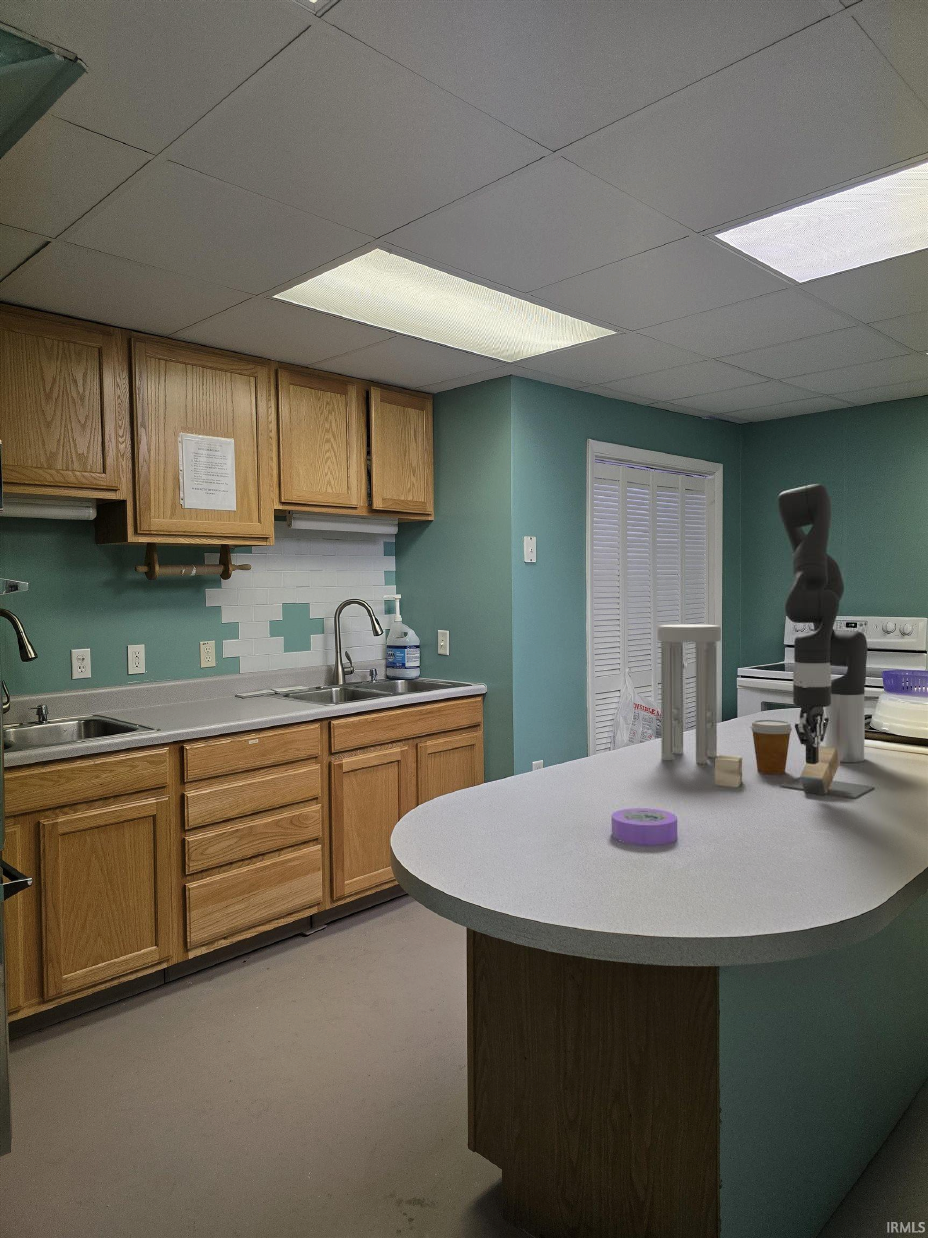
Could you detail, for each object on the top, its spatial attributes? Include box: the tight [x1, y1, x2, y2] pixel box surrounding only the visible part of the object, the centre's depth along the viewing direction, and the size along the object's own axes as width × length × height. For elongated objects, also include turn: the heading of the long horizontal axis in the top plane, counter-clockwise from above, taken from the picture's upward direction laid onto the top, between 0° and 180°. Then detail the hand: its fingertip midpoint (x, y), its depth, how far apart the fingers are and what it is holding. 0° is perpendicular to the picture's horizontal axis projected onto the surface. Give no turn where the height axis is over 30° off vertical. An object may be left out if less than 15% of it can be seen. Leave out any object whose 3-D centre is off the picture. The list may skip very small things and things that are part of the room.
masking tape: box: [611, 807, 678, 846], centre depth 148 cm, size 12×12×4 cm
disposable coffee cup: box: [750, 719, 793, 775], centre depth 198 cm, size 10×10×12 cm
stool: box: [657, 623, 722, 765], centre depth 215 cm, size 16×16×35 cm
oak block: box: [799, 745, 841, 796], centre depth 179 cm, size 4×4×10 cm
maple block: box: [714, 754, 743, 788], centre depth 187 cm, size 5×5×6 cm
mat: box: [779, 776, 875, 800], centre depth 182 cm, size 12×16×1 cm
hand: (812, 763), depth 176 cm, fingers closed
